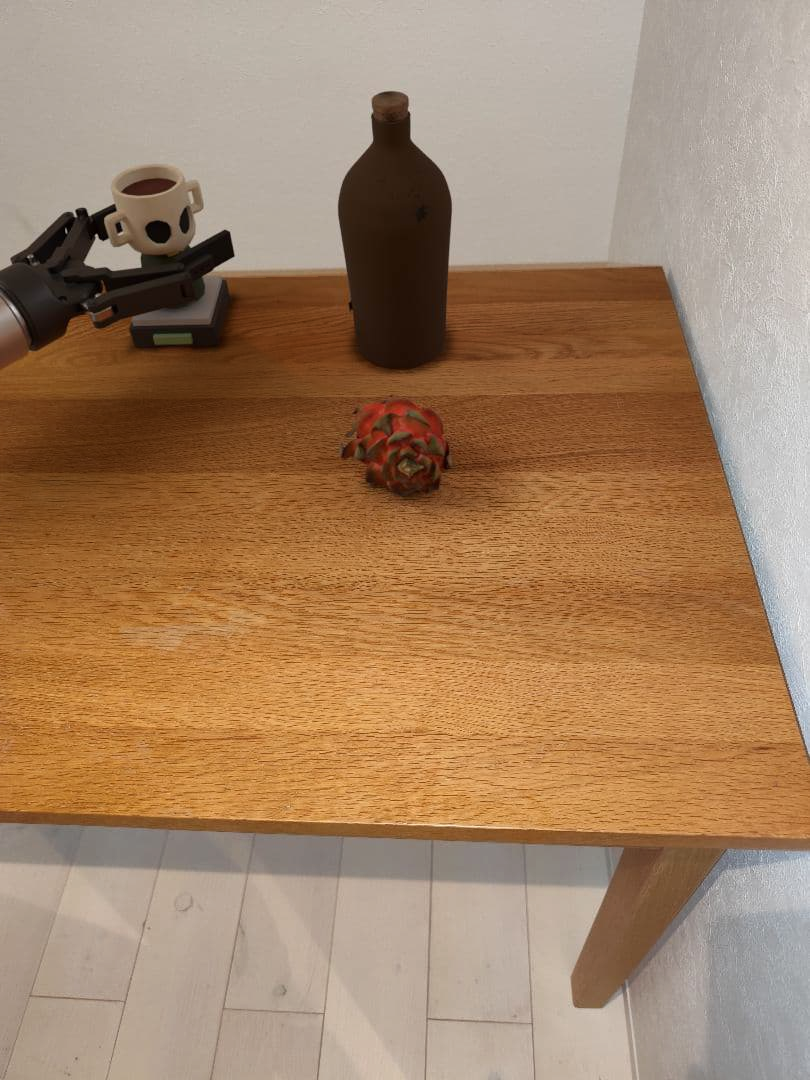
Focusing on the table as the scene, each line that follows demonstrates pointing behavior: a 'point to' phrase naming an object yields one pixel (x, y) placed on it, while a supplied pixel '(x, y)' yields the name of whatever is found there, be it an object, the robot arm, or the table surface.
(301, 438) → the table surface
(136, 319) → the scale
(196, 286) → the character mug
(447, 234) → the olive oil
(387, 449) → the dragon fruit
